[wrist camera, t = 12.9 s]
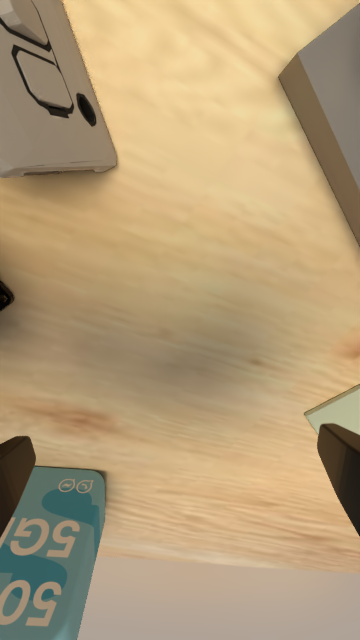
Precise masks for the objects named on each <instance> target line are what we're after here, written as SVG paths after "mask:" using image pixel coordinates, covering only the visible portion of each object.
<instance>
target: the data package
mask: <svg viewBox="0 0 360 640" xmlns="http://www.w3.org/2000/svg"><path fill="white" fill-rule="evenodd" d="M104 522H105V482H104V479H103V477H102V476H101V475H100V474H99V473H98V472H96V471H93V470H82V469H66V468H50V467H34V468H33V470H32V473H31V475H30V478H29V480H28V482H27V485H26V487H25V490H24V492H23V494H22V497H21V499H20V502H19V504H18V506H17V508H16V510H15V512H14V514H13V516H12V518H11V520H10V522H9V523H8V525H7V527H6V529H5V531H4V533H3V534H2V536H1V538H0V640H77V637H78V633H79V629H80V625H81V620H82V616H83V612H84V607H85V603H86V599H87V595H88V590H89V586H90V582H91V577H92V573H93V568H94V564H95V560H96V556H97V552H98V547H99V543H100V539H101V535H102V530H103V526H104Z"/></svg>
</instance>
